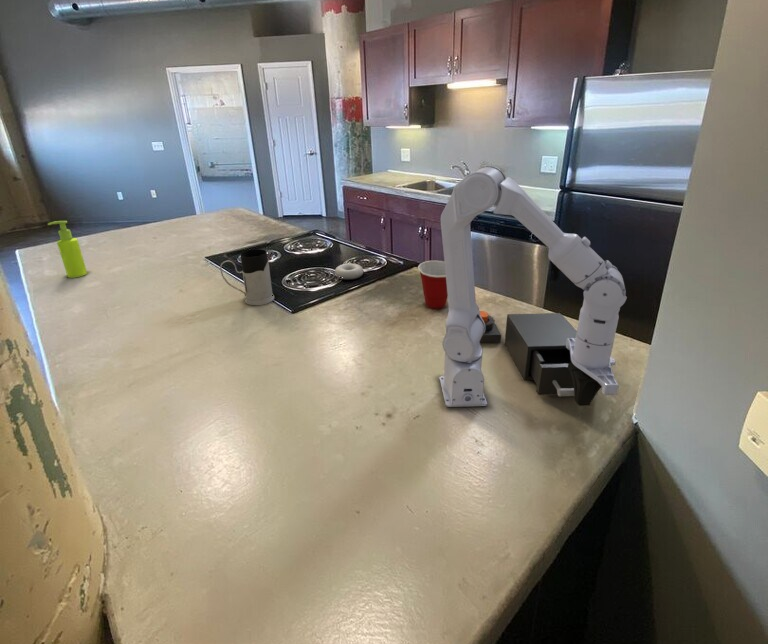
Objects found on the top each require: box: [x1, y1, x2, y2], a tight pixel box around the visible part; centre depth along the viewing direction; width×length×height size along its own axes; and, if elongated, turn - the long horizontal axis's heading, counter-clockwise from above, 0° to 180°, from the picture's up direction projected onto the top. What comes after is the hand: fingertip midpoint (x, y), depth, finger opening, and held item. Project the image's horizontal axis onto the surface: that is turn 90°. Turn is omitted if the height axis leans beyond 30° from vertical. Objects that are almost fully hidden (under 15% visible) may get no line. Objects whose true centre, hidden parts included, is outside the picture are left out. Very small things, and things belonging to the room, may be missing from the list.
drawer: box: [529, 349, 599, 397], centre depth 84 cm, size 18×11×6 cm, turn 1°
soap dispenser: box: [47, 220, 88, 279], centre depth 148 cm, size 6×7×20 cm
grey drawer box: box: [504, 312, 577, 381], centre depth 93 cm, size 15×13×8 cm
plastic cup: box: [417, 260, 448, 310], centre depth 120 cm, size 11×11×12 cm
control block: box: [480, 314, 502, 344], centre depth 105 cm, size 10×8×4 cm
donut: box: [334, 262, 364, 281], centre depth 145 cm, size 10×4×10 cm
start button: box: [479, 310, 489, 323], centre depth 105 cm, size 4×4×2 cm
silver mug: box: [219, 248, 276, 306], centre depth 125 cm, size 9×14×15 cm, turn 112°
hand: (582, 403), depth 75 cm, fingers closed
